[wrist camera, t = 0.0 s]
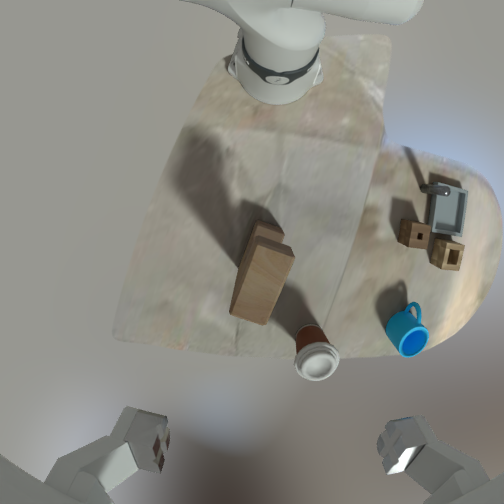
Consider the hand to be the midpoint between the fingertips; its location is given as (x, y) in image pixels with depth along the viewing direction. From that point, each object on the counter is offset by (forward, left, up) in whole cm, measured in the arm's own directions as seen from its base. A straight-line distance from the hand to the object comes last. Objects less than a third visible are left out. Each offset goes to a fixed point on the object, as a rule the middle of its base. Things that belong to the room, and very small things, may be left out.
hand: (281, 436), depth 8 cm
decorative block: (+5, 0, -48) cm, 48 cm away
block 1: (-2, +32, -48) cm, 58 cm away
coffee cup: (+24, +13, -48) cm, 56 cm away
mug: (+19, +36, -48) cm, 63 cm away
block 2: (+2, +43, -48) cm, 64 cm away
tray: (-8, +42, -48) cm, 64 cm away
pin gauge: (-12, +34, -48) cm, 60 cm away
